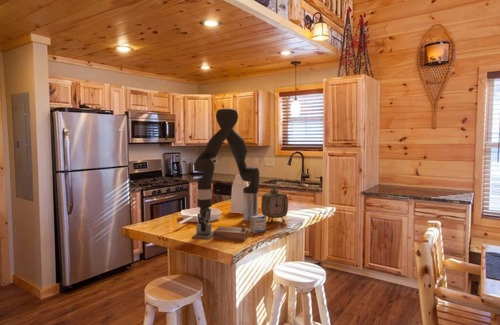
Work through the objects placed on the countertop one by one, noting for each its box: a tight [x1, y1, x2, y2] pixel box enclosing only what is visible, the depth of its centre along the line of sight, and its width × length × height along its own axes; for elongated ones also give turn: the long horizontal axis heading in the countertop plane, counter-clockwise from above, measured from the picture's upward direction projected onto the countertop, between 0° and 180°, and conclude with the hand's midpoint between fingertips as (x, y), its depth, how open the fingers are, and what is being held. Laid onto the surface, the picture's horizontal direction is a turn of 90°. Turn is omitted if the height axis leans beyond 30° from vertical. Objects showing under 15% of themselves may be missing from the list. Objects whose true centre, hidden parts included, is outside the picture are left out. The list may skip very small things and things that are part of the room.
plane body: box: [212, 223, 250, 242], centre depth 171 cm, size 10×16×7 cm, turn 77°
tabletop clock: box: [260, 180, 289, 225], centre depth 204 cm, size 14×9×25 cm, turn 117°
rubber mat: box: [191, 231, 213, 240], centre depth 174 cm, size 12×9×1 cm
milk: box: [230, 174, 250, 215], centre depth 232 cm, size 12×12×26 cm
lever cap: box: [195, 222, 213, 235], centre depth 174 cm, size 4×7×6 cm, turn 77°
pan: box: [177, 207, 222, 226], centre depth 205 cm, size 28×41×4 cm
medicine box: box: [249, 214, 267, 234], centre depth 182 cm, size 8×4×9 cm, turn 126°
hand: (204, 230), depth 174 cm, fingers closed on lever cap, 3 cm apart
